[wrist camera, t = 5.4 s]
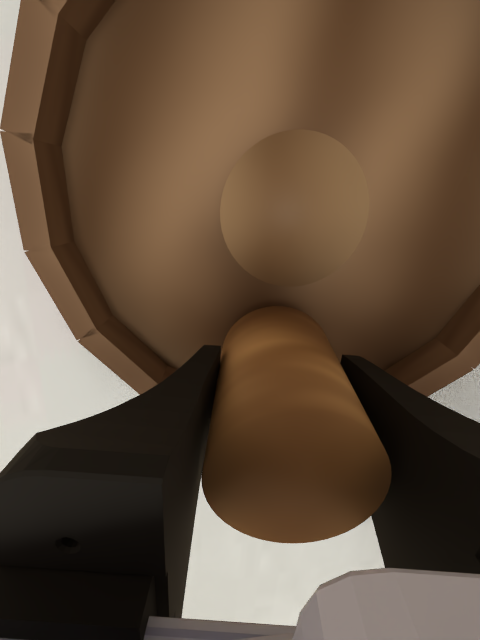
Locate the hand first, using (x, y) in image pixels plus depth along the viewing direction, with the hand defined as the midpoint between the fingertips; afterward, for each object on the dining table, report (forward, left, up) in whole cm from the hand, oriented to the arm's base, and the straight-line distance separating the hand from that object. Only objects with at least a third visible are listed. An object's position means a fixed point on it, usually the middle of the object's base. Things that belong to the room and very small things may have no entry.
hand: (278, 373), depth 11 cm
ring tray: (0, -6, -3) cm, 6 cm away
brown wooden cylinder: (0, 0, -2) cm, 2 cm away
